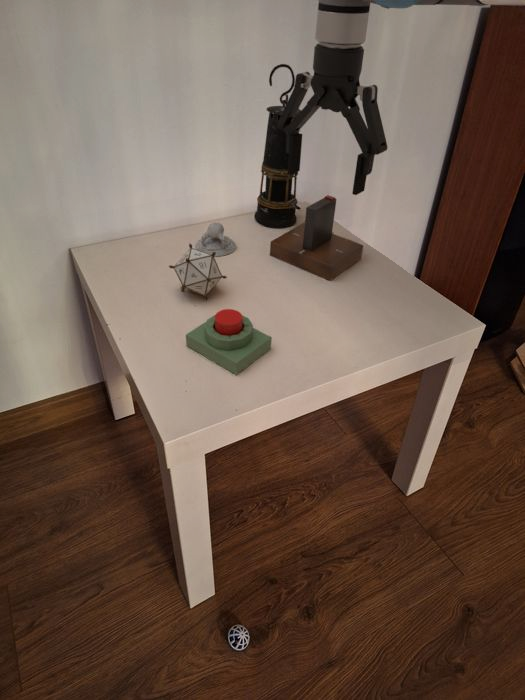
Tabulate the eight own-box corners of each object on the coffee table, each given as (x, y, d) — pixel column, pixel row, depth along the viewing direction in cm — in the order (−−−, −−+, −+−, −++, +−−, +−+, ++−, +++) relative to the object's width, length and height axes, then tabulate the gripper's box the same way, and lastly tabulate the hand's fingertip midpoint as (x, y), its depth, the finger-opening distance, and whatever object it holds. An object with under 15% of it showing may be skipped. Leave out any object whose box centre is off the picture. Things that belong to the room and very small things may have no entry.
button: (247, 327, 78) (248, 316, 77) (229, 340, 76) (229, 328, 74) (227, 316, 80) (227, 305, 79) (209, 328, 77) (209, 317, 76)
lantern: (301, 226, 113) (316, 70, 94) (259, 229, 111) (266, 71, 92) (290, 209, 119) (301, 59, 101) (250, 211, 118) (254, 60, 99)
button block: (271, 348, 80) (272, 327, 78) (236, 375, 75) (236, 353, 73) (222, 322, 85) (221, 301, 82) (186, 346, 80) (184, 324, 77)
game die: (197, 316, 92) (173, 293, 83) (178, 279, 96) (152, 254, 86) (240, 288, 92) (221, 263, 82) (220, 253, 95) (198, 224, 86)
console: (361, 258, 103) (364, 244, 101) (330, 281, 96) (332, 266, 94) (302, 235, 109) (304, 221, 107) (269, 255, 102) (270, 240, 100)
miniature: (239, 239, 107) (239, 217, 104) (232, 258, 101) (232, 235, 98) (200, 235, 108) (199, 213, 105) (191, 254, 102) (189, 230, 99)
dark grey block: (311, 251, 98) (315, 209, 93) (302, 247, 99) (306, 206, 94) (331, 238, 102) (336, 197, 97) (322, 235, 103) (327, 194, 98)
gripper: (427, 52, 76) (398, 195, 89) (288, 31, 88) (281, 159, 101) (403, 59, 72) (376, 208, 85) (259, 35, 83) (256, 169, 97)
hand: (324, 182), depth 93 cm, fingers open, 13 cm apart
